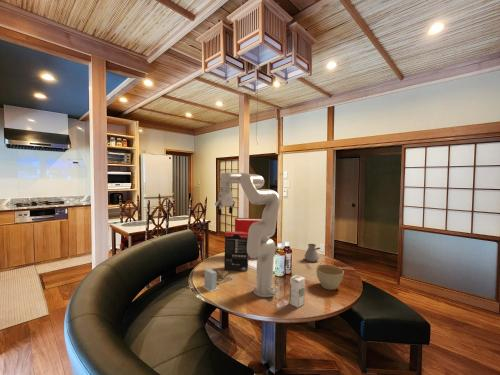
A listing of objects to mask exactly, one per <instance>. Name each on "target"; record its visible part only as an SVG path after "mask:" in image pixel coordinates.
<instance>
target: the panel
mask: <svg viewBox="0 0 500 375" xmlns="http://www.w3.org/2000/svg"><path fill="white" fill-rule="evenodd" d="M213 270H214V269H212V268H209V267H208V268H205V269H204V272H205V276H204V285H205V286H206V287H207V288H209V289H210V290H215V289H216V287H217V284H216V279H217V276H218V272H215V271H213ZM215 291H216V290H215Z"/></svg>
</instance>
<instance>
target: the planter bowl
mask: <svg viewBox="0 0 500 375" xmlns="http://www.w3.org/2000/svg"><path fill="white" fill-rule="evenodd" d="M315 271H316V277H317V280H318V281H319V283H320V286H321V287H322V288H323V289H325V290H329V291H331V290H332V291H335V290H337V289H338V287H339V286H340V285H341V283H342V282H343V278H344V273H345V271H344V270H343V268H341V267H339V266H335V265H332V264H319V265H316V269H315Z"/></svg>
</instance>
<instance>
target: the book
mask: <svg viewBox="0 0 500 375" xmlns="http://www.w3.org/2000/svg"><path fill="white" fill-rule="evenodd" d="M261 219H262V218H255V217H254V218H253V217H252V218H247V217H245V218H244V217H236V218H234V232H249V228H250V226H251V224H253V223H255V222H260V221H261ZM248 259H252V258H251V257H249V255H248Z"/></svg>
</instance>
